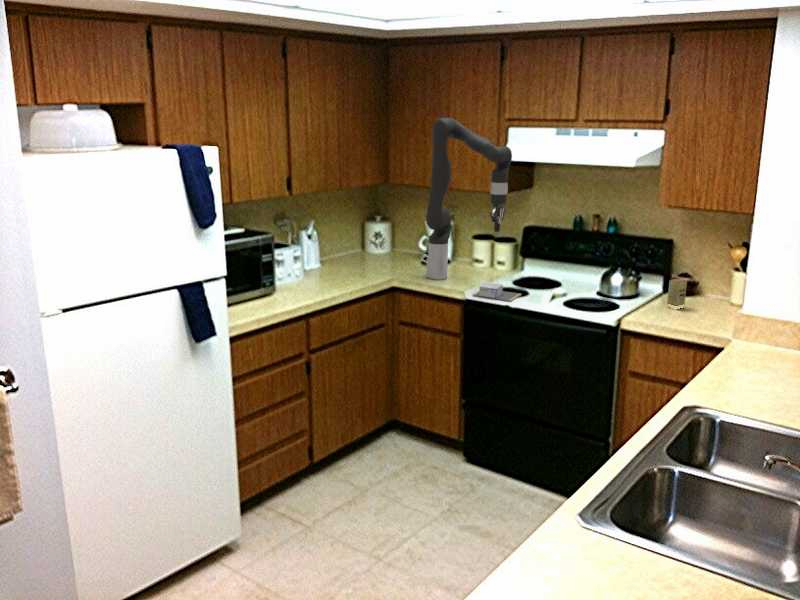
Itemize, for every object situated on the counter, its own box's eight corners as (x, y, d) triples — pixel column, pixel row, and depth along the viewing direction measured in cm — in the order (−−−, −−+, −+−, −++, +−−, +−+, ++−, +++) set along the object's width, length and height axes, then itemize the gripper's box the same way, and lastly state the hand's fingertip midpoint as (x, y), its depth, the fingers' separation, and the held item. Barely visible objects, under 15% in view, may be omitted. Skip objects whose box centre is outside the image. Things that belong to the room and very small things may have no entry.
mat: (472, 296, 334) (472, 294, 334) (484, 289, 345) (484, 288, 345) (510, 302, 325) (510, 300, 325) (521, 295, 336) (521, 293, 336)
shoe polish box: (666, 307, 320) (669, 279, 317) (674, 305, 323) (677, 278, 320) (676, 310, 317) (679, 282, 313) (683, 308, 319) (687, 280, 316)
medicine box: (486, 291, 339) (478, 296, 332) (486, 281, 338) (479, 286, 331) (502, 293, 336) (495, 298, 328) (503, 284, 334) (496, 288, 327)
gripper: (496, 190, 340) (494, 228, 345) (485, 193, 329) (483, 232, 334) (512, 191, 337) (510, 229, 341) (501, 195, 325) (499, 234, 330)
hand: (497, 231), depth 338 cm, fingers closed
